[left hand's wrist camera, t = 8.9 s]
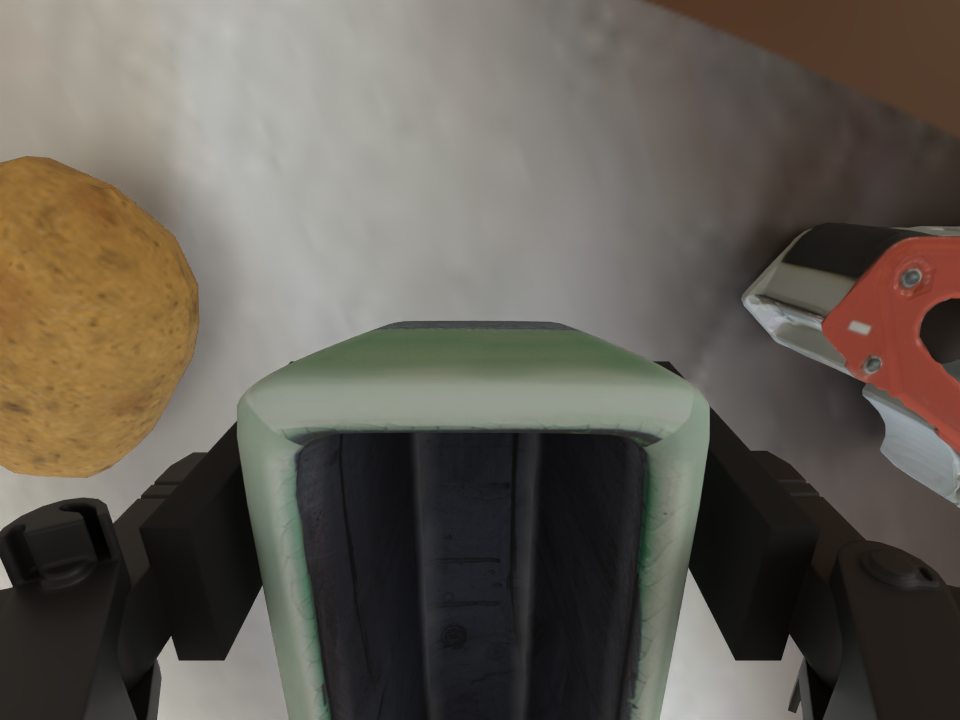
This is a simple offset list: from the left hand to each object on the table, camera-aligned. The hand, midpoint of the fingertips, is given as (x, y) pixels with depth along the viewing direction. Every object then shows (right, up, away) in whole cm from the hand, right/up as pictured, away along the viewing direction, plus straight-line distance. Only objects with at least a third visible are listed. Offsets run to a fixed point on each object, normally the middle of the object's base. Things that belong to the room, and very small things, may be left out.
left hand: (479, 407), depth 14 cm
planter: (0, -9, +5) cm, 10 cm away
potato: (-16, +4, +9) cm, 19 cm away
